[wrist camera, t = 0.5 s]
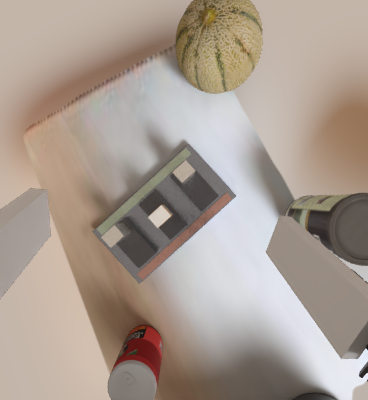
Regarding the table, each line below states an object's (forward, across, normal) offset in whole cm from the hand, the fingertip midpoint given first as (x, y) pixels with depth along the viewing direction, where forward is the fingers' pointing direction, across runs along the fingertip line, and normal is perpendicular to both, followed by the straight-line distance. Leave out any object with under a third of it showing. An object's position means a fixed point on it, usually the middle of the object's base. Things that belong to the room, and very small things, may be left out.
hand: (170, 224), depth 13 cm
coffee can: (+26, -32, +11) cm, 42 cm away
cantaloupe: (+41, -9, -14) cm, 44 cm away
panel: (+30, -2, +14) cm, 33 cm away
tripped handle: (+26, -2, +13) cm, 29 cm away
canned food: (+19, -2, +40) cm, 44 cm away
